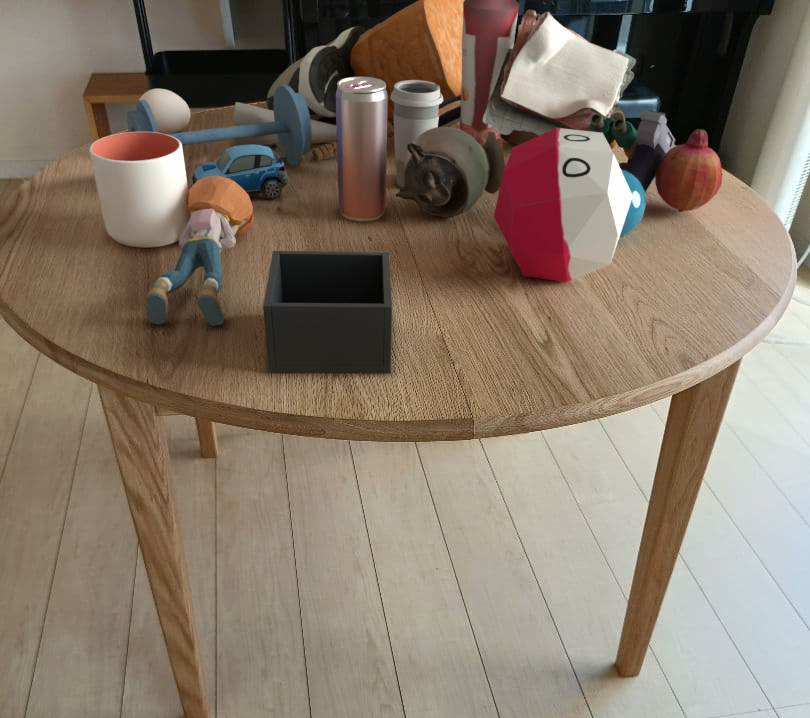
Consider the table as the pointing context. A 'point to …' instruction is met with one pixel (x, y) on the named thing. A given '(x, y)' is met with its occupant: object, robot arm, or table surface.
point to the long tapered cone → (255, 115)
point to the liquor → (483, 58)
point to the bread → (414, 48)
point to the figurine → (204, 245)
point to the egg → (167, 110)
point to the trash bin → (328, 312)
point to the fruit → (689, 174)
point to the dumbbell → (287, 125)
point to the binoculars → (616, 133)
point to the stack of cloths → (555, 80)
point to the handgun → (650, 147)
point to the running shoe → (320, 74)
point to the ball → (633, 204)
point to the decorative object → (562, 204)
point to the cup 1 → (141, 187)
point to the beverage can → (361, 147)
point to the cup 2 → (413, 116)
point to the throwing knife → (444, 121)
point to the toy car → (250, 168)
